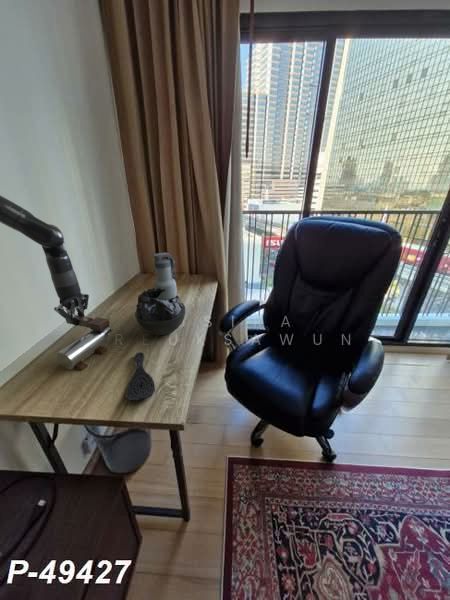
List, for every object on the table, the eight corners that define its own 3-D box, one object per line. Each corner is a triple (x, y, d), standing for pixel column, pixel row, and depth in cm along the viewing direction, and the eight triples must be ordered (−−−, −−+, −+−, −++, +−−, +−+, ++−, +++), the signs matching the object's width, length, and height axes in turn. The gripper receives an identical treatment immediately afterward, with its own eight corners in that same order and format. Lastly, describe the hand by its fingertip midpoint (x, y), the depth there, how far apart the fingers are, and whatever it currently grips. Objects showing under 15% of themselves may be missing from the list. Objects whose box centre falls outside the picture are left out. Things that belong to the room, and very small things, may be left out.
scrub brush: (64, 324, 98) (62, 318, 97) (74, 319, 102) (71, 312, 100) (101, 332, 92) (99, 325, 90) (110, 326, 95) (108, 319, 94)
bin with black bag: (157, 315, 118) (150, 278, 109) (195, 322, 112) (192, 283, 103) (128, 339, 101) (119, 298, 93) (172, 349, 95) (165, 305, 86)
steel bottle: (77, 374, 84) (70, 355, 80) (60, 368, 86) (52, 350, 83) (119, 340, 100) (115, 323, 97) (103, 337, 103) (99, 320, 99)
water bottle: (174, 303, 129) (168, 249, 117) (182, 310, 122) (176, 254, 109) (155, 308, 124) (146, 253, 112) (162, 316, 117) (153, 258, 104)
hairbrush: (150, 345, 93) (154, 392, 71) (151, 353, 94) (156, 402, 72) (126, 350, 90) (123, 400, 69) (128, 358, 92) (126, 410, 70)
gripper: (74, 274, 97) (86, 313, 105) (39, 288, 86) (56, 330, 93) (89, 276, 95) (100, 316, 102) (55, 291, 83) (71, 334, 91)
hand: (79, 322), depth 98 cm, fingers closed on scrub brush, 2 cm apart
